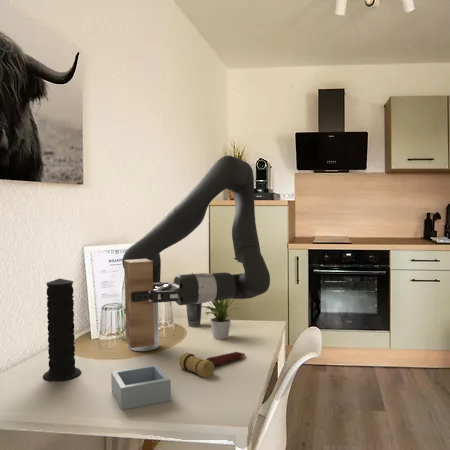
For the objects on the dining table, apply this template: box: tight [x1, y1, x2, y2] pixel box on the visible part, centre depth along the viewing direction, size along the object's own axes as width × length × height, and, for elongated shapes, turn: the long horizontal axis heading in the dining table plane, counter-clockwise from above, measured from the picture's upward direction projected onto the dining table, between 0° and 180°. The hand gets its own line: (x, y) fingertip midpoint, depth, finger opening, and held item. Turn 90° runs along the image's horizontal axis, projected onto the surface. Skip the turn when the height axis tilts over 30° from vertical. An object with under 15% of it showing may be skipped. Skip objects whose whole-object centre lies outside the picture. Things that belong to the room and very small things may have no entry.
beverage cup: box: [185, 272, 203, 328], centre depth 178 cm, size 7×7×20 cm
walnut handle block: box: [123, 259, 154, 348], centre depth 112 cm, size 6×6×20 cm
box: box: [110, 364, 172, 411], centre depth 113 cm, size 12×12×5 cm
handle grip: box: [42, 278, 82, 383], centre depth 127 cm, size 10×26×10 cm
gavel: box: [179, 351, 246, 379], centre depth 134 cm, size 21×5×10 cm
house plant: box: [201, 299, 238, 341], centre depth 163 cm, size 14×14×16 cm
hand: (128, 294), depth 111 cm, fingers closed on walnut handle block, 5 cm apart
